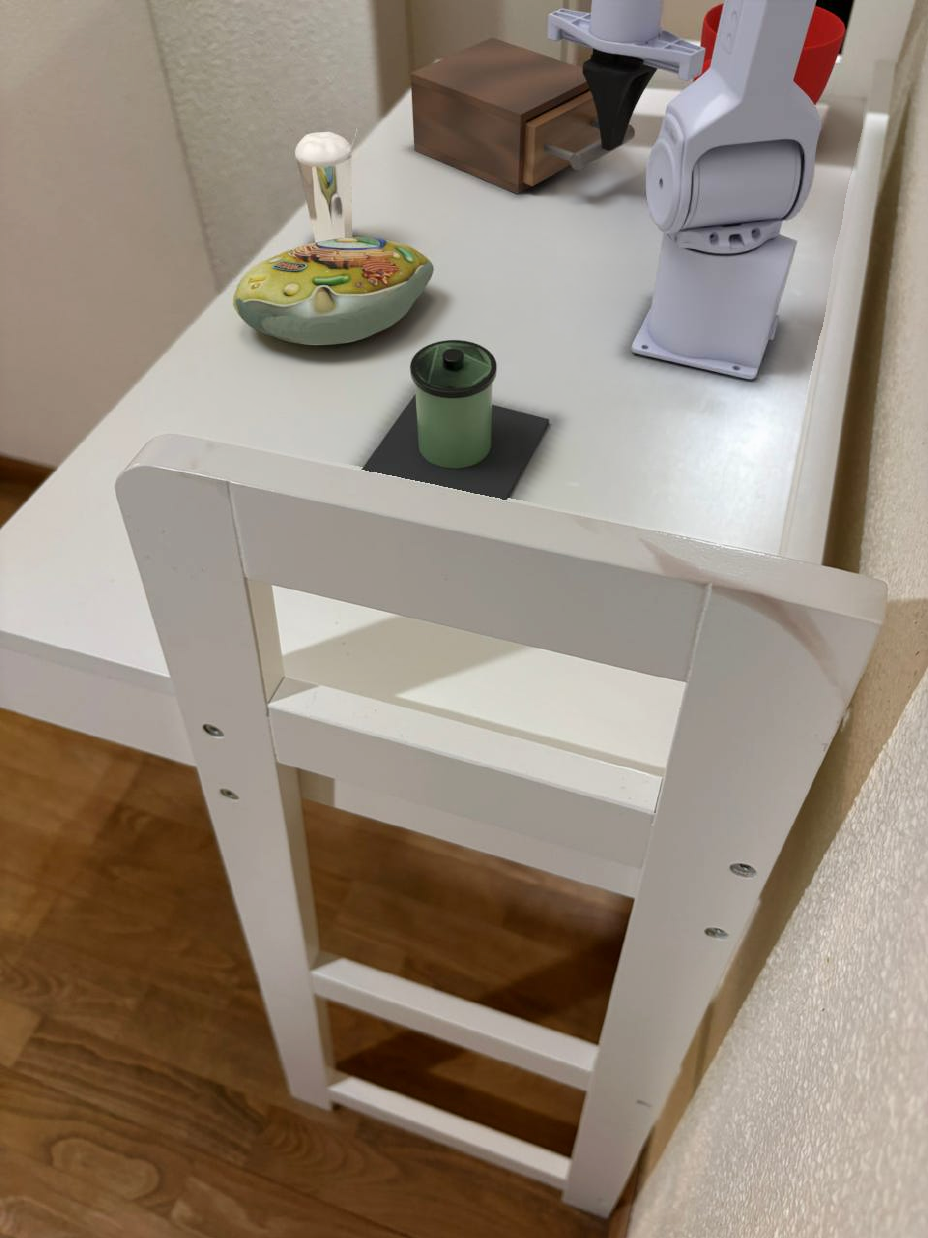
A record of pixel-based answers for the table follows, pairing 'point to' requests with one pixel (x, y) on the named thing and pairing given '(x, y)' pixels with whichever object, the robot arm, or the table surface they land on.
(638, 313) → the table surface
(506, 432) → the mat
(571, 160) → the drawer
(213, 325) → the table surface
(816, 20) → the ceramic cup
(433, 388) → the pot
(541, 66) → the cabinet
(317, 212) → the milkshake
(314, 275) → the cell model
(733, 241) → the robot arm
